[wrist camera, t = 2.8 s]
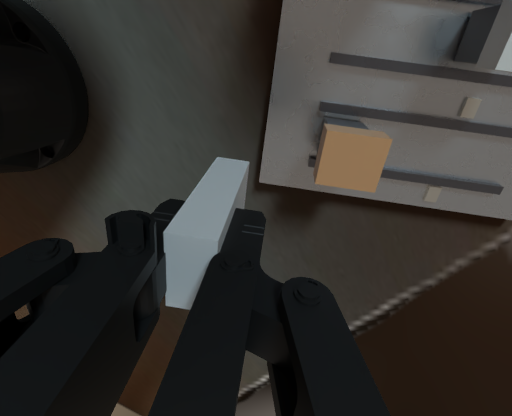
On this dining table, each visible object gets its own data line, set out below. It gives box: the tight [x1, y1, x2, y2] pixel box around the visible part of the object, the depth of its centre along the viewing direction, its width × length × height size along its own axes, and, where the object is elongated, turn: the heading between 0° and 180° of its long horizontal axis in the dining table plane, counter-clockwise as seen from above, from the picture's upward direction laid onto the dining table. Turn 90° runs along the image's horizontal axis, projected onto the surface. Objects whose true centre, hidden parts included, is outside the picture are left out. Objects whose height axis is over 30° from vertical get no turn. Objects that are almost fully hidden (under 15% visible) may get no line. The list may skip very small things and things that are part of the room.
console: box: [259, 0, 512, 220], centre depth 23 cm, size 24×18×3 cm
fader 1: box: [313, 117, 393, 193], centre depth 22 cm, size 4×4×6 cm
